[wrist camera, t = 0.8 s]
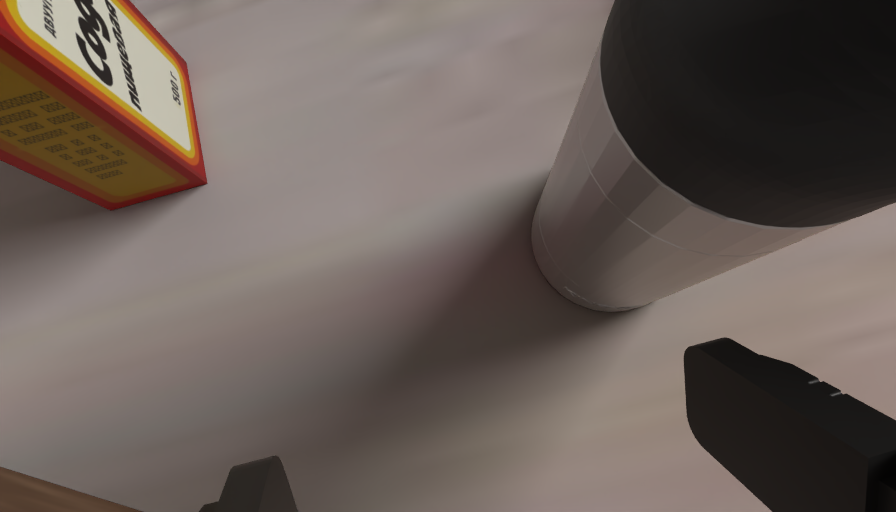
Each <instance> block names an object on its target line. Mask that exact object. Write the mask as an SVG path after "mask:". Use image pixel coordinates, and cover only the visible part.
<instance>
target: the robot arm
mask: <svg viewBox="0 0 896 512" xmlns="http://www.w3.org/2000/svg"><path fill="white" fill-rule="evenodd" d="M895 202H896V0H615V2H614V4H613V7H612V10H611V12H610V15H609V18H608V21H607V24H606V27H605V30H604V32H603V35H602V38H601V40H600V43H599V46H598V48H597V51H596V53H595V56H594V59H593V61H592V64H591V67H590V69H589V72H588V75H587V78H586V80H585V83H584V86H583V89H582V91H581V94H580V97H579V99H578V102H577V104H576V107H575V110H574V112H573V115H572V117H571V120H570V123H569V125H568V128H567V130H566V133H565V136H564V138H563V141H562V143H561V146H560V149H559V151H558V154H557V157H556V159H555V162H554V164H553V167H552V170H551V172H550V175H549V177H548V180H547V183H546V185H545V187H544V190H543V192H542V195H541V197H540V200H539V203H538V205H537V208H536V211H535V214H534V218H533V222H532V226H531V243H532V248H533V253H534V257H535V259H536V262H537V264H538V266H539V268H540V271H541V272H542V274H543V275H544V276H545V278H546V279H547V281H548V282H549V283H550V285H552V286H553V287H554V288H555V289H556V290H557V291H558V292H559V293H560V294H561V295H562V296H564V297H566V298H567V299H569V300H571V301H572V302H574V303H576V304H578V305H581V306H584V307H586V308H589V309H592V310H598V311H605V312H617V311H627V310H631V309H634V308H638V307H641V306H644V305H646V304H648V303H651V302H653V301H656V300H658V299H661V298H663V297H666V296H669V295H671V294H673V293H676V292H678V291H681V290H683V289H685V288H688V287H690V286H693V285H695V284H697V283H700V282H702V281H705V280H707V279H709V278H712V277H714V276H717V275H719V274H721V273H724V272H726V271H729V270H731V269H733V268H736V267H738V266H741V265H743V264H745V263H748V262H750V261H753V260H755V259H757V258H760V257H762V256H765V255H767V254H769V253H772V252H774V251H777V250H779V249H781V248H784V247H786V246H789V245H791V244H793V243H796V242H798V241H801V240H802V239H805V238H807V237H809V236H812V235H814V234H817V233H819V232H821V231H824V230H826V229H829V228H831V227H834V226H836V225H838V224H841V223H843V222H846V221H848V220H850V219H853V218H856V217H859V216H862V215H864V214H867V213H869V212H872V211H874V210H877V209H879V208H882V207H884V206H887V205H890V204H893V203H895ZM684 373H685V391H686V410H687V418H688V422H689V425H690V428H691V430H692V432H693V434H694V436H695V438H696V439H697V441H698V442H699V443H700V445H701V446H702V447H703V448H704V449H705V450H706V451H707V452H709V453H710V454H711V455H712V456H713V457H714V458H715V459H716V460H717V461H718V462H719V463H720V464H721V465H723V466H724V467H725V468H726V469H727V470H728V471H729V472H730V473H731V474H732V475H733V476H734V477H736V478H737V479H738V480H739V481H740V482H741V483H742V484H743V485H744V486H745V487H746V488H747V489H749V490H750V491H751V492H752V493H753V494H754V495H755V496H756V497H757V498H758V499H759V500H760V501H762V502H763V503H764V504H765V505H766V506H767V507H768V508H769V509H770V510H771V511H772V512H896V420H894V419H892V418H890V417H888V416H887V415H885V414H883V413H881V412H879V411H877V410H875V409H874V408H872V407H870V406H868V405H866V404H864V403H863V402H861V401H859V400H857V399H855V398H853V397H852V396H850V395H848V394H842V393H841V390H839V389H837V388H835V387H833V386H831V385H830V384H828V383H826V382H824V381H823V382H820V381H819V380H818V378H817V377H815V376H813V375H811V374H809V373H807V372H806V371H804V370H802V369H800V368H798V367H796V366H795V365H793V364H790V363H787V362H783V361H780V360H777V359H773V358H770V357H767V356H763V355H758V354H757V353H755V352H753V351H751V350H749V349H748V348H746V347H744V346H742V345H741V344H739V343H737V342H735V341H734V340H732V339H729V338H720V339H716V340H712V341H709V342H705V343H701V344H697V345H694V346H690V347H688V348H687V349H686V350H685V353H684ZM199 512H298V510H297V507H296V504H295V501H294V498H293V495H292V492H291V489H290V486H289V483H288V480H287V477H286V474H285V471H284V468H283V465H282V462H281V460H280V459H279V457H278V456H276V455H275V456H271V457H267V458H264V459H260V460H256V461H252V462H249V463H245V464H241V465H237V466H234V467H232V469H231V470H230V472H229V475H228V478H227V481H226V483H225V486H224V489H223V491H222V494H221V497H220V500H219V501H217V502H214V503H210V504H206V505H204V506H203V507H202V508H201V509H200V511H199Z"/></svg>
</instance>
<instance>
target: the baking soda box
mask: <svg viewBox="0 0 896 512" xmlns="http://www.w3.org/2000/svg"><path fill="white" fill-rule="evenodd" d="M0 160H1V161H4V162H6V163H8V164H10V165H12V166H14V167H17V168H19V169H21V170H23V171H25V172H28V173H30V174H32V175H34V176H36V177H39V178H41V179H43V180H45V181H47V182H50V183H52V184H54V185H56V186H58V187H60V188H63V189H65V190H67V191H69V192H71V193H74V194H76V195H78V196H80V197H82V198H85V199H87V200H89V201H91V202H93V203H96V204H98V205H100V206H102V207H104V208H106V209H109V210H115V209H118V208H122V207H125V206H129V205H132V204H136V203H140V202H143V201H147V200H150V199H154V198H157V197H161V196H165V195H168V194H172V193H175V192H179V191H182V190H186V189H190V188H193V187H197V186H200V185H204V184H207V179H206V173H205V167H204V161H203V156H202V150H201V144H200V138H199V133H198V127H197V121H196V115H195V110H194V104H193V98H192V92H191V87H190V81H189V75H188V69H187V64H186V62H185V61H184V59H183V58H182V57H181V56H180V55H179V54H178V53H177V52H176V51H175V50H174V49H173V47H172V46H171V45H170V44H169V43H168V42H167V41H166V40H165V39H164V38H163V37H162V35H161V34H160V33H159V32H158V31H157V30H156V29H155V28H154V27H153V26H152V25H151V23H150V22H149V21H148V20H147V19H146V18H145V17H144V16H143V15H142V14H141V13H140V11H139V10H138V9H137V8H136V7H135V6H134V5H133V4H132V3H131V2H130V0H0Z"/></svg>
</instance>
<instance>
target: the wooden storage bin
mask: <svg viewBox="0 0 896 512" xmlns="http://www.w3.org/2000/svg"><path fill="white" fill-rule="evenodd" d="M0 512H142V511H138V510H135V509H132V508H129V507H126V506H123V505H119V504H116V503H113V502H110V501H107V500H104V499H100V498H97V497H94V496H91V495H88V494H85V493H81V492H78V491H75V490H72V489H69V488H66V487H62V486H59V485H56V484H53V483H50V482H47V481H43V480H40V479H37V478H34V477H31V476H28V475H24V474H21V473H18V472H15V471H12V470H9V469H5V468H2V467H0Z"/></svg>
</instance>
